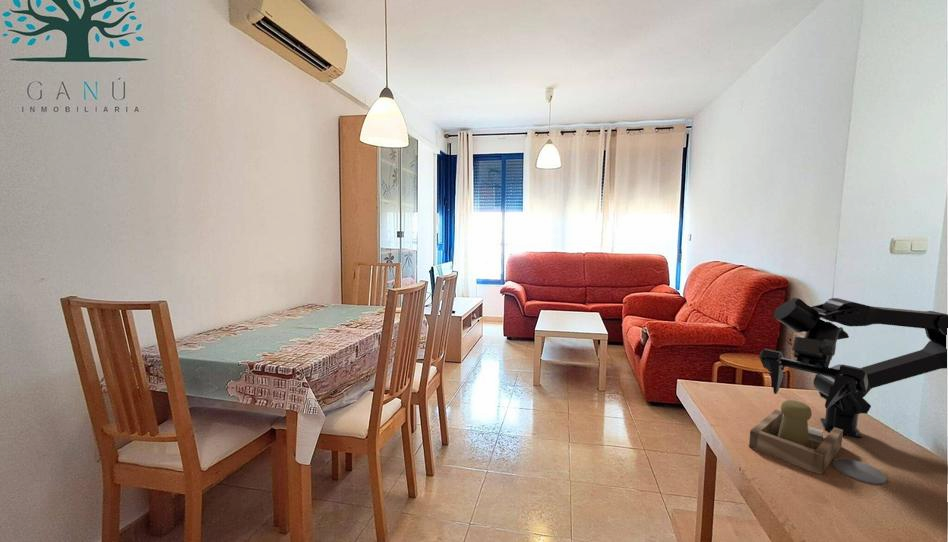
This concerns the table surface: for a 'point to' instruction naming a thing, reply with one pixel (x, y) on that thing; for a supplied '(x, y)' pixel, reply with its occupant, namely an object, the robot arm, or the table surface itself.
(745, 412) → the table surface
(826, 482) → the table surface
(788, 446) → the brown wooden rectangular frame
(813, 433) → the light grey rectangular block
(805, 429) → the olive knobbed peg
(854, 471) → the slate pad
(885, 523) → the table surface
